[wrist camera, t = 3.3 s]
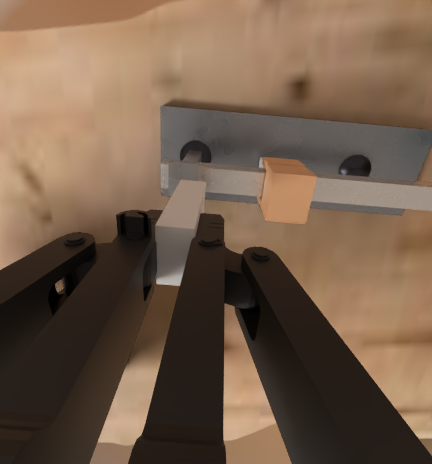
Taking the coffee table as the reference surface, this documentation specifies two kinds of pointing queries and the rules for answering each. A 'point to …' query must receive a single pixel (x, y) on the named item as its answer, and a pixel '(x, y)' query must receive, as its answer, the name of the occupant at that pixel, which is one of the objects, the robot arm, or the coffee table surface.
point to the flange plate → (295, 147)
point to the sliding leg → (286, 190)
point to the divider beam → (325, 190)
